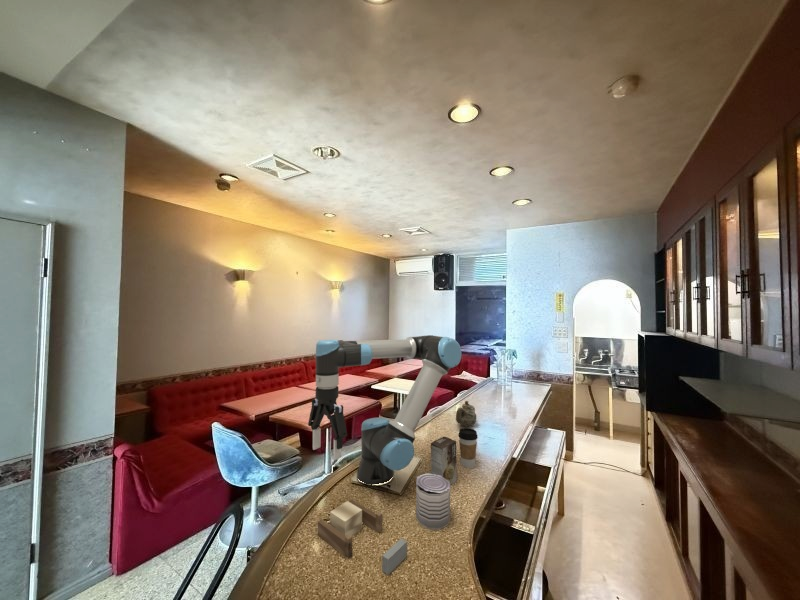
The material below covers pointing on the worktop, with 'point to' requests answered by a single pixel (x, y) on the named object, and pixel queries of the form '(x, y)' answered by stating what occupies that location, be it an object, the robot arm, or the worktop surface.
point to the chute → (345, 542)
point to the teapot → (466, 415)
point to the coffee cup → (468, 446)
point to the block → (346, 518)
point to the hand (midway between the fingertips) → (326, 453)
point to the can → (432, 501)
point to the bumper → (394, 556)
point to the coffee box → (444, 459)
